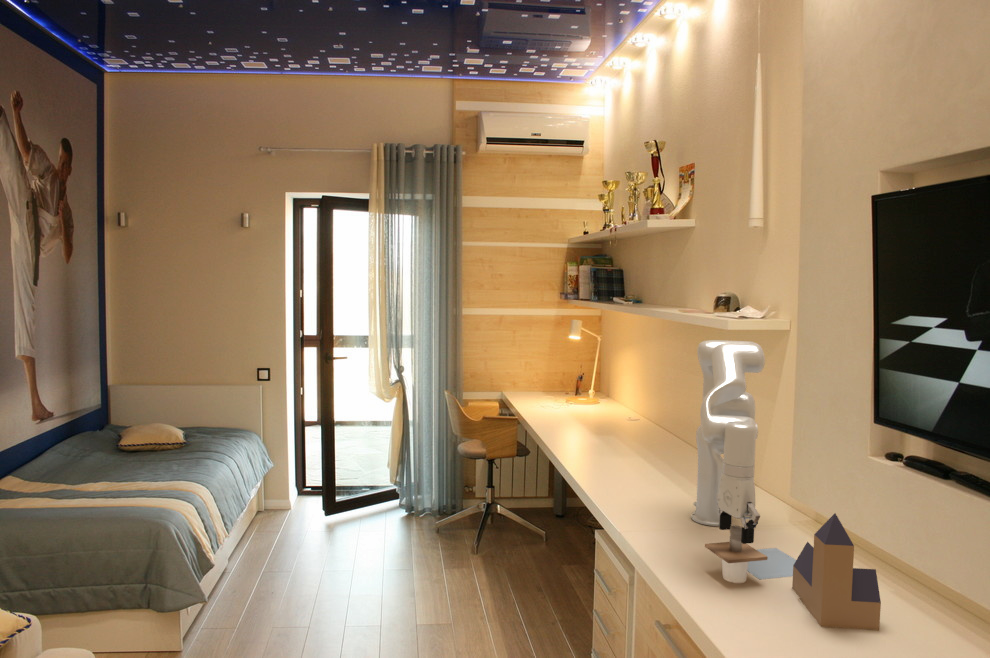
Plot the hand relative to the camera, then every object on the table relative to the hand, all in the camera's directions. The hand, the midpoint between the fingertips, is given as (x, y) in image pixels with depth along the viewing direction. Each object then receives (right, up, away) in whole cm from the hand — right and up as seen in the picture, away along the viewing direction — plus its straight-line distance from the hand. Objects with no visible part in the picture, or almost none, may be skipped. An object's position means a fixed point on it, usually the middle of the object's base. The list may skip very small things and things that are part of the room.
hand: (736, 536), depth 176 cm
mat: (+13, -11, +11) cm, 20 cm away
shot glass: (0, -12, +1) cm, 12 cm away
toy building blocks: (+18, -13, -14) cm, 26 cm away
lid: (0, -5, 0) cm, 5 cm away
